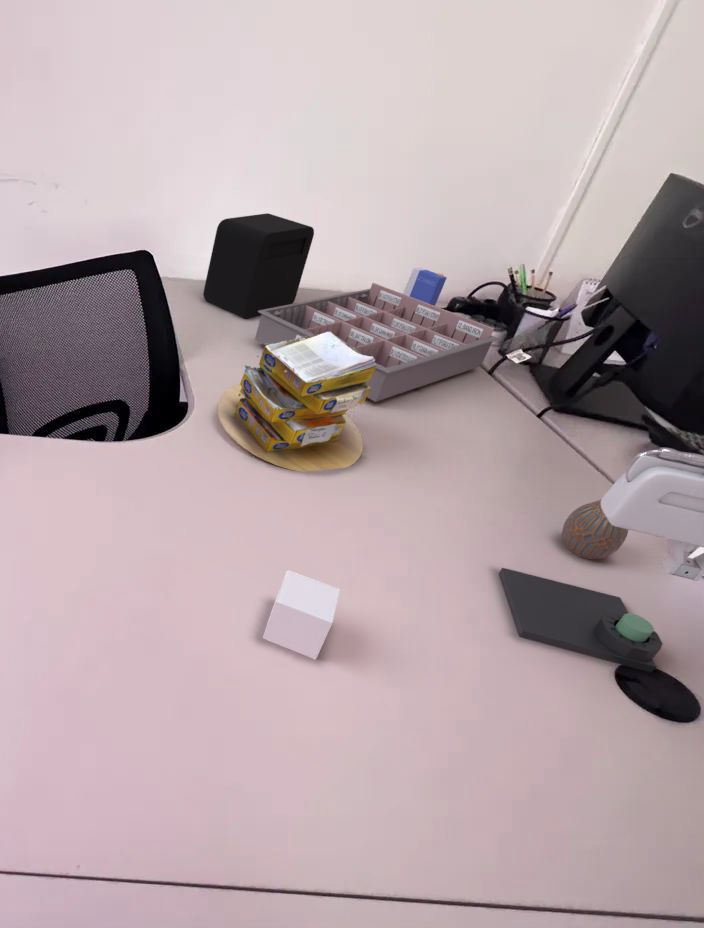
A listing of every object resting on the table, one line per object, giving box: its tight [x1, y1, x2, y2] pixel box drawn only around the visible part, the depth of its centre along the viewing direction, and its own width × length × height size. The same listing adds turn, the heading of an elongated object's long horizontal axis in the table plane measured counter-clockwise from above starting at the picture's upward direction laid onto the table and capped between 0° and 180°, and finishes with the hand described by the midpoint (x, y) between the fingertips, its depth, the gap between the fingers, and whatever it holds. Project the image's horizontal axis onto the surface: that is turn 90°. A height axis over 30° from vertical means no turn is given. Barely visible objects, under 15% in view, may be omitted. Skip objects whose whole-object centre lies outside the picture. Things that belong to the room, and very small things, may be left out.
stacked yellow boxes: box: [216, 332, 376, 473], centre depth 112 cm, size 25×25×17 cm
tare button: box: [615, 613, 655, 643], centre depth 78 cm, size 3×3×2 cm
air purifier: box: [202, 213, 315, 320], centre depth 163 cm, size 20×15×20 cm
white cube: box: [262, 569, 341, 661], centre depth 76 cm, size 6×6×6 cm
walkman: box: [402, 267, 448, 306], centre depth 169 cm, size 8×3×12 cm, turn 27°
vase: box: [561, 498, 629, 560], centre depth 93 cm, size 7×7×9 cm
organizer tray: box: [254, 282, 499, 403], centre depth 144 cm, size 32×40×10 cm
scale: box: [498, 567, 664, 674], centre depth 83 cm, size 14×12×3 cm
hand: (678, 573), depth 73 cm, fingers closed
